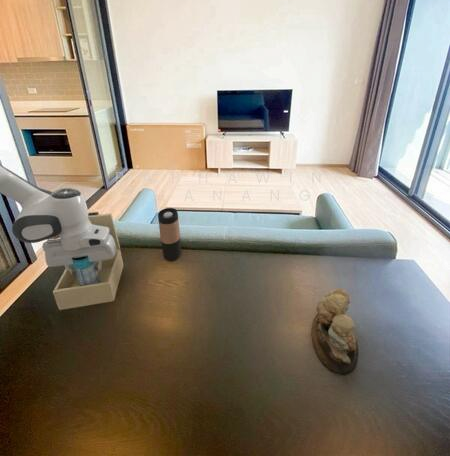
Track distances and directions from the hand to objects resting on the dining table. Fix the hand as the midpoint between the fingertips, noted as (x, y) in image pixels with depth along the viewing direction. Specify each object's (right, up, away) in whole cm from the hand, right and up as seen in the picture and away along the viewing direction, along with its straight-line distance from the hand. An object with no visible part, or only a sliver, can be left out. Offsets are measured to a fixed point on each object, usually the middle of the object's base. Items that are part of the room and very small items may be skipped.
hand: (86, 270), depth 81 cm
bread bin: (0, -8, +5) cm, 9 cm away
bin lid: (-2, +10, +5) cm, 11 cm away
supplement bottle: (0, -7, +3) cm, 8 cm away
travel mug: (+25, -2, +19) cm, 31 cm away
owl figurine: (+77, -14, -14) cm, 79 cm away
